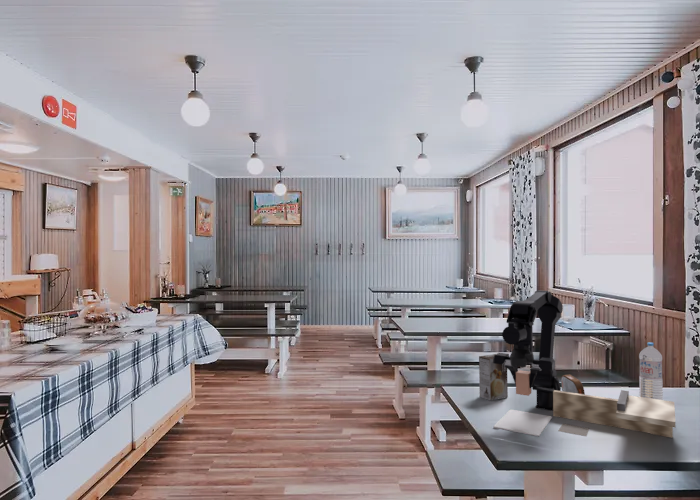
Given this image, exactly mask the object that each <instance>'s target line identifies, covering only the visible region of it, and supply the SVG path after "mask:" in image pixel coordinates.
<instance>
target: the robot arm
mask: <svg viewBox="0 0 700 500" xmlns="http://www.w3.org/2000/svg"><path fill="white" fill-rule="evenodd" d="M563 310H564V306H563V302H561V299H560V298H558V297H556V296H555V295H554V294H552V292H551V291H549V290H539V289H538V290H536V291H534V293H533V294H532V295H530V296H529V297H528V298H527V297H526V299H525V300H516V301H514V302H513V303H512V305H511V306H510V307H509V312H508V315H507V319H506V323H507V326H506V327H504V329H503V331H502V333H501V337H502V339H503V341H504V342H505V343H507V344H508V345H513V348H512V351H511V353H510V354H509V353H505V352H498V353H495V354H496V355H495V356H494V357H493V363H494V364H503V363H504V362H505V367H507V370H509V372H510V374H511V376H512V379H513V382H514V385H515V386H516V372H517V371H519V369H518V367H520V368H525V367H527V365H529V366H531V367H530V369H529V372H530V383H529V385H530V388H531V389H532V390H533V391H536V404H535V408H536V409H541V410H546V411H552V412H553V391H554V390H557V391H562V387H561V382H560V380H559V378H558V377H557V374H558V372H557V370H556V360H555V359H554V349H555V348H554V347H555V346H554V345H555V333H556V324H557V323H558V322H559V321H560V320H561V316H562V313H563ZM537 316H538V318H539V320H540V322H541V327H540V328H541V329H540V338H539V339H540V340H539V351H538V353H539V355H538V359H535V356H534V352H533V351H534V343H533V341H534V340H533V332H534V331H533V328H534V327H533V326H534V325H535V324H534V323H535V320H536V318H537Z"/></svg>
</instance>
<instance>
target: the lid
mask: <svg viewBox="0 0 700 500" xmlns="http://www.w3.org/2000/svg"><path fill="white" fill-rule="evenodd" d="M629 393H630V392H629V390H622V389H621V390H620V393H619V396H618V398H617V399H618V402H617V412H616V418H621V419H627V420H633V421H639V422H645V423H651V424H657V425H663V426H669V427H673V428H676V411H675V410H676V409H675V407H676V405H675V401H671V400H664V399H663V400H658V399H651V398H644V397H640V396H635V395H630V394H629Z"/></svg>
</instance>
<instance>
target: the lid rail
mask: <svg viewBox="0 0 700 500" xmlns="http://www.w3.org/2000/svg"><path fill="white" fill-rule="evenodd" d="M618 399H619V398H610V397H605V396H604V397H603V396H597V395H590V394H578V393H571V392H564V391H562V390H560V391H557V390H554V391H553V411H552V412H553V413H552V414H553V416H552V417H557V418H564V419H568V420H575V421H579V422H585V423H591V424H597V425H603V426H608V427H615V428H620V429H625V430H631V431H635V432H643V433H649V435H653V436H654V435H655V436H659V437H660V436H661V437H667V438H674V433H673V432H674V431H673V429H674V427H669V426H663V425H657V424H651V423H645V422H639V421H633V420H627V419H621V418H616V412H617V402H618Z"/></svg>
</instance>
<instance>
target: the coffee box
mask: <svg viewBox="0 0 700 500" xmlns="http://www.w3.org/2000/svg"><path fill="white" fill-rule="evenodd" d="M496 354H497V353H495V354H486V355H481V356H480V355H479V356H478V364H479V365H478V374H479V375H478V377H479V383H478V386H479V398H483V399H485V400H488V401H491V402H492V401H496V400H501V399H506V398H508V397H509V396H508V395H509V394H508V393H509V392H508V388H509V387H508V368H507V367H505V362H504V363H503V364H494V363H493V357H494V356H495V355H496Z"/></svg>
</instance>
